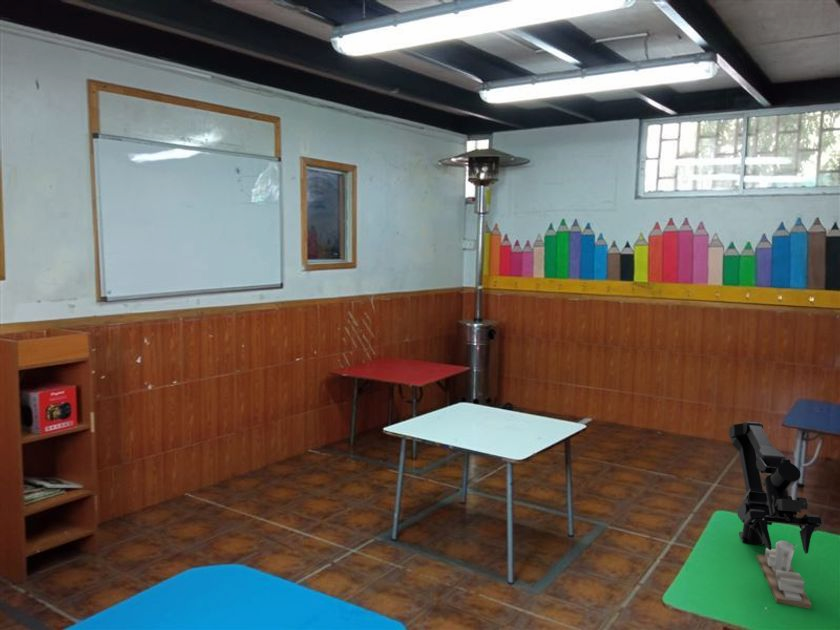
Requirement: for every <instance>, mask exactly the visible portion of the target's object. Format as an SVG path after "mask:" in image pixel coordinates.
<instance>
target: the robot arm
mask: <svg viewBox="0 0 840 630" xmlns="http://www.w3.org/2000/svg"><path fill="white" fill-rule="evenodd" d="M728 436H729V438H730V440H731V444H732V446H733V447H734V448H735V449H736V450H737V451H738V454H739V457H740V459H739V460H740V464H741V469H742V474H743V480H744V485H745V491H746V492H745V496H744V498H743V500H742V504H741V505H740V506H739V507H738V508H737V517H738V519H739V520H740V521H741V523H743V525H742V531H739V532H738V534H739V537H740V539H741V542H743V543H746V544H752V545H753V544H754V545H759V546H766V548H768V549H769V550H771V549H773V548H772V541H771V537H770V533H769V529H768V525H769V526H772V525H773V524H774V523H775V524H784V525H793V526H794V525H795V526H799V528H800V529H801V530H800V531H799V536H800V540H801V544H802V549H803V552H804V554H806V555H807V554H808V553H809V549H810V543H811V538H812V536H813V533H814V532H817V531H818V530H819V529H820V528H821V527H823V526H824V521H823V519H822V517H820V515H818V514H808V513H804V515H803V516H802V517H795V516H797V515H798V513H802V510H803V511H806V510H808V508H809V507H808V506H809V505H808V500H807V498H806V497H802V496H801V497H798V496H797V497H796V499H793V496H791V495H790V492H789V489H791V488H792V487H793V486H794V485H795V484H796V483H797V482H798V480H800V478H801V471H800V469H799V468H798V467H797V465H795V464H793V463H791V459H789V458H788V459H787V458H786V456H785V455H784V454H783V453H782V451H780V450H778V449H776V448H774V447H773V445H772V443H771V440H770V439H769V437H768V436H767V433H766V432H765V430H764V426H763V423H760V422H758V421H749V420H748V421H745V422H742V423H734V424H732V425H731V426H729V429H728ZM761 474H767V476H766V478H764V479H763V483H762V477H761ZM768 474H769V475H768ZM763 486H764V487H765V488H764V489H765V490H764V489H763Z"/></svg>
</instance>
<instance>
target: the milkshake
mask: <svg viewBox="0 0 840 630" xmlns="http://www.w3.org/2000/svg"><path fill="white" fill-rule="evenodd" d="M798 545H799V544H796V545H795V546H794V545H793V544H792V543H791V542H789V541H785V540H778V541H777V542H776V543H775V549H776V558H775V573H776V570H782V571H788V572H789V570H790V565H791V566H792V562H791V561H792V560H793V556H794V553H795V550H796V548H797V546H798Z"/></svg>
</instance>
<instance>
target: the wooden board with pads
mask: <svg viewBox="0 0 840 630" xmlns="http://www.w3.org/2000/svg"><path fill="white" fill-rule="evenodd" d="M775 558H776V548H772V549H771V550H769V549H768V548H767V547H766V548H765V551H764V554H761V553H760V554H759V553H757V554H756V559H757V562H758V563H759V566H760V568H761V571H762V573H763V575H764V577H765V580H766V582H767V584H768V586H769V589H770V591H771V594H772V595H773V598H774V600H775V603H777V604H781V605H788V606H792V607H793V606H794V607H798V608H805V609H812V603H811V601H810V599H809V597H808V595H807V593H806V590H805V582H804V580H803V577H802V576H801V574H800V573H798V572H795V571H794V570H795V569H794V568H793V565H792V564H791V565H790V570H789V572H788V571H782V570H776V573H775ZM791 563H793V562H792V561H791Z"/></svg>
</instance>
